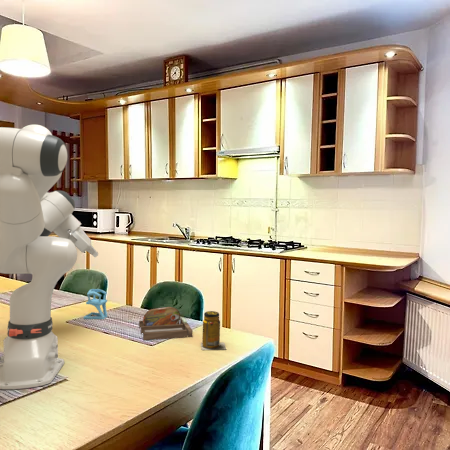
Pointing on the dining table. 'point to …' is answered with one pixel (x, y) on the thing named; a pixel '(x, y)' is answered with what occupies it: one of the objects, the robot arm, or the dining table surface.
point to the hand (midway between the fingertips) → (96, 255)
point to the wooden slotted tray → (166, 330)
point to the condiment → (211, 332)
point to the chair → (97, 304)
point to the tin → (161, 316)
